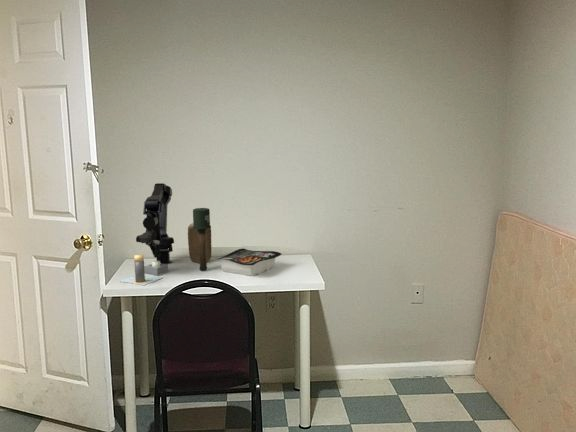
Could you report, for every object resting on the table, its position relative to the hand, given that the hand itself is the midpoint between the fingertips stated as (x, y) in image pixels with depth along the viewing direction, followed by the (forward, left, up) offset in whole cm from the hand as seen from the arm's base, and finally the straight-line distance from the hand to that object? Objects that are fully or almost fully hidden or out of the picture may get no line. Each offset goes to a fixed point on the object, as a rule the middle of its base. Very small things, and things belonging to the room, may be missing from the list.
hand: (155, 257), depth 285 cm
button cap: (0, 0, -7) cm, 7 cm away
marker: (+16, +4, -7) cm, 18 cm away
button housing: (0, 0, -8) cm, 8 cm away
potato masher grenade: (-13, +18, -8) cm, 24 cm away
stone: (-26, +7, -8) cm, 28 cm away
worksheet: (+13, +2, -8) cm, 15 cm away
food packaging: (-24, +37, -8) cm, 45 cm away
